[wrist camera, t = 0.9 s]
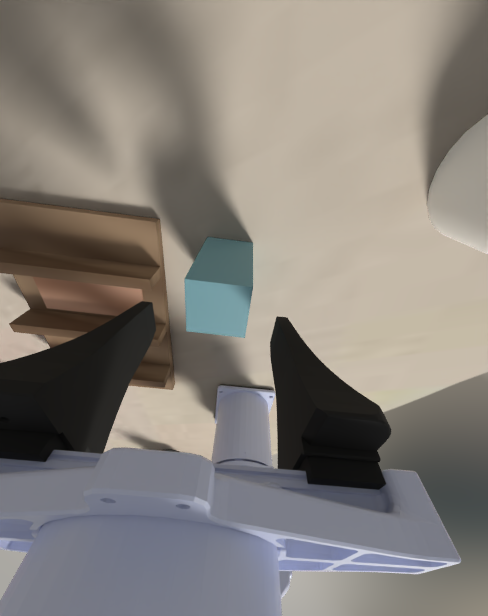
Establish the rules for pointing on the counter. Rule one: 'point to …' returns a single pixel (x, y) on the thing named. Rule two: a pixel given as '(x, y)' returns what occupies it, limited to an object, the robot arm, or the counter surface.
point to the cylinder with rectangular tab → (463, 190)
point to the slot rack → (87, 275)
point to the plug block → (220, 288)
